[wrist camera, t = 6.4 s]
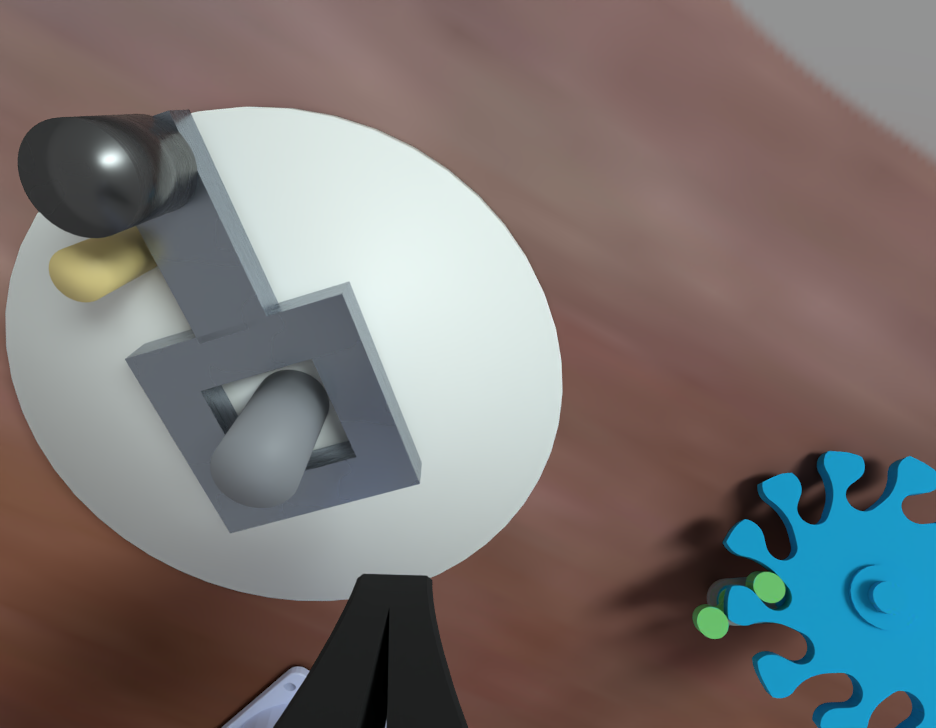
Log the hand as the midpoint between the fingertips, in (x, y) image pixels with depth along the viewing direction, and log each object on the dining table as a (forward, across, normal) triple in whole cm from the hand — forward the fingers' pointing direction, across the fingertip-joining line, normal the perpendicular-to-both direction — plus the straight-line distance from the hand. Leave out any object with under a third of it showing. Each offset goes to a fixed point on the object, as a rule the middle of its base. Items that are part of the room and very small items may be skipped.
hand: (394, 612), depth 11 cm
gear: (+10, -16, +6) cm, 19 cm away
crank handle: (+9, +5, -2) cm, 10 cm away
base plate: (+10, +4, 0) cm, 11 cm away
